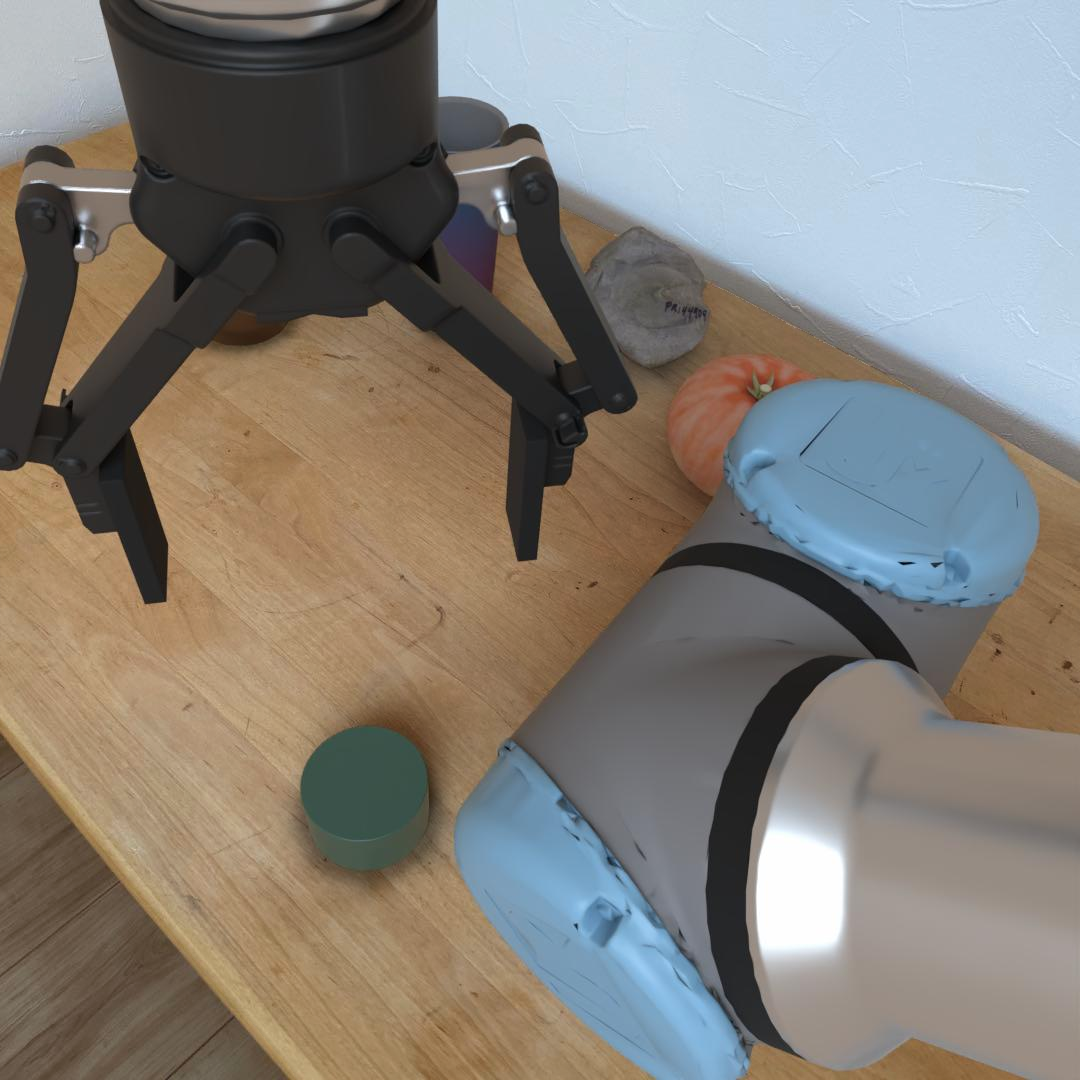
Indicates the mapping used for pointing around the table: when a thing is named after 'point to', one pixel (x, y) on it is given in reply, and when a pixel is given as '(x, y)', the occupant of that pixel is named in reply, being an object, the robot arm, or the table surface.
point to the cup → (467, 232)
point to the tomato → (720, 410)
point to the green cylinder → (366, 797)
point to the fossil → (650, 296)
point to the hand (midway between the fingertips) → (344, 554)
